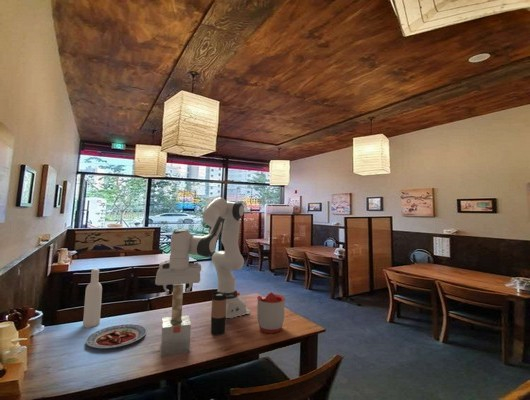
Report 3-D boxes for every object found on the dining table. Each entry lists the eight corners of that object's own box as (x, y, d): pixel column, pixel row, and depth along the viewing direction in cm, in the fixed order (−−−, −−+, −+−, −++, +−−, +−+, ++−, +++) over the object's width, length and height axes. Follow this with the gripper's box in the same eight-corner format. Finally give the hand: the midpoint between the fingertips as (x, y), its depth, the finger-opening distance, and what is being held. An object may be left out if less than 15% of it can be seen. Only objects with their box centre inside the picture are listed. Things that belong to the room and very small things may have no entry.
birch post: (180, 326, 124) (182, 283, 125) (181, 330, 120) (183, 286, 121) (170, 327, 122) (173, 284, 124) (171, 331, 118) (173, 286, 120)
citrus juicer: (271, 320, 156) (272, 286, 157) (290, 331, 142) (291, 293, 143) (249, 326, 147) (250, 290, 148) (267, 338, 133) (268, 298, 134)
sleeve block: (187, 340, 128) (188, 315, 129) (189, 352, 116) (191, 324, 117) (161, 343, 124) (162, 317, 125) (160, 356, 112) (162, 328, 113)
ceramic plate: (113, 357, 111) (113, 350, 111) (72, 346, 120) (73, 339, 120) (157, 333, 135) (157, 327, 135) (120, 325, 144) (121, 319, 144)
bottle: (80, 328, 138) (85, 271, 140) (84, 323, 145) (88, 268, 148) (98, 326, 141) (102, 270, 144) (101, 321, 148) (104, 267, 151)
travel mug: (212, 336, 133) (214, 296, 134) (208, 330, 139) (210, 292, 141) (227, 334, 136) (228, 295, 138) (222, 328, 143) (223, 291, 144)
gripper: (200, 261, 130) (199, 290, 129) (156, 263, 123) (154, 293, 122) (202, 263, 124) (201, 293, 123) (156, 265, 117) (154, 297, 116)
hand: (177, 293), depth 122 cm, fingers open, 8 cm apart
